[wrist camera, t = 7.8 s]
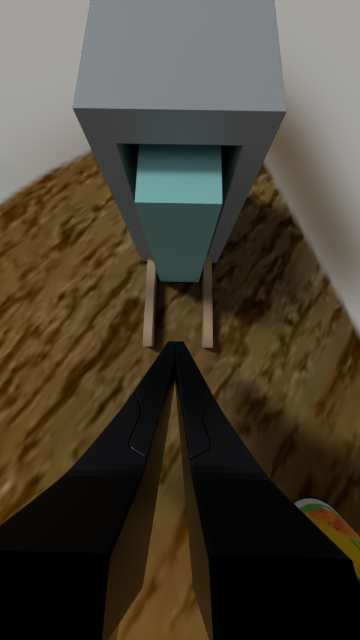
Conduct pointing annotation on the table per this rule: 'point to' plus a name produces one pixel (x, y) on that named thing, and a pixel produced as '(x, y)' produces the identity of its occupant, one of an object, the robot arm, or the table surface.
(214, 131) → the socket
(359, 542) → the supplement bottle
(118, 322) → the table surface
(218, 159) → the slider
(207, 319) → the track
